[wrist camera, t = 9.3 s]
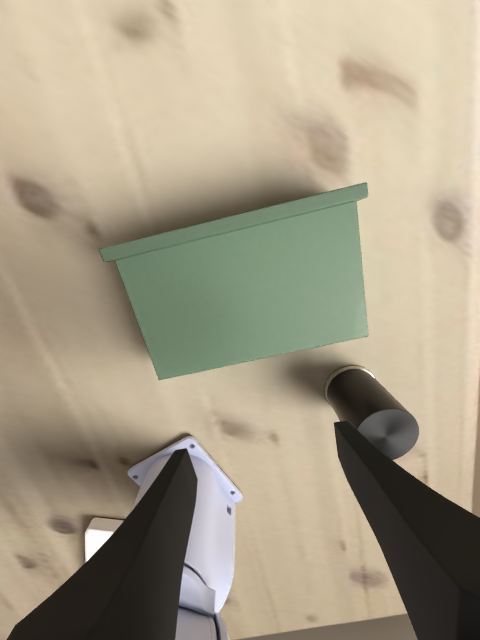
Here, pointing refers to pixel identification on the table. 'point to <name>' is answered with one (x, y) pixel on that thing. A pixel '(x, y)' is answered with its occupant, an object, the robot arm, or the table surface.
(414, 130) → the table surface
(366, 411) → the cylinder
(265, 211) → the shelf
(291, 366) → the table surface
